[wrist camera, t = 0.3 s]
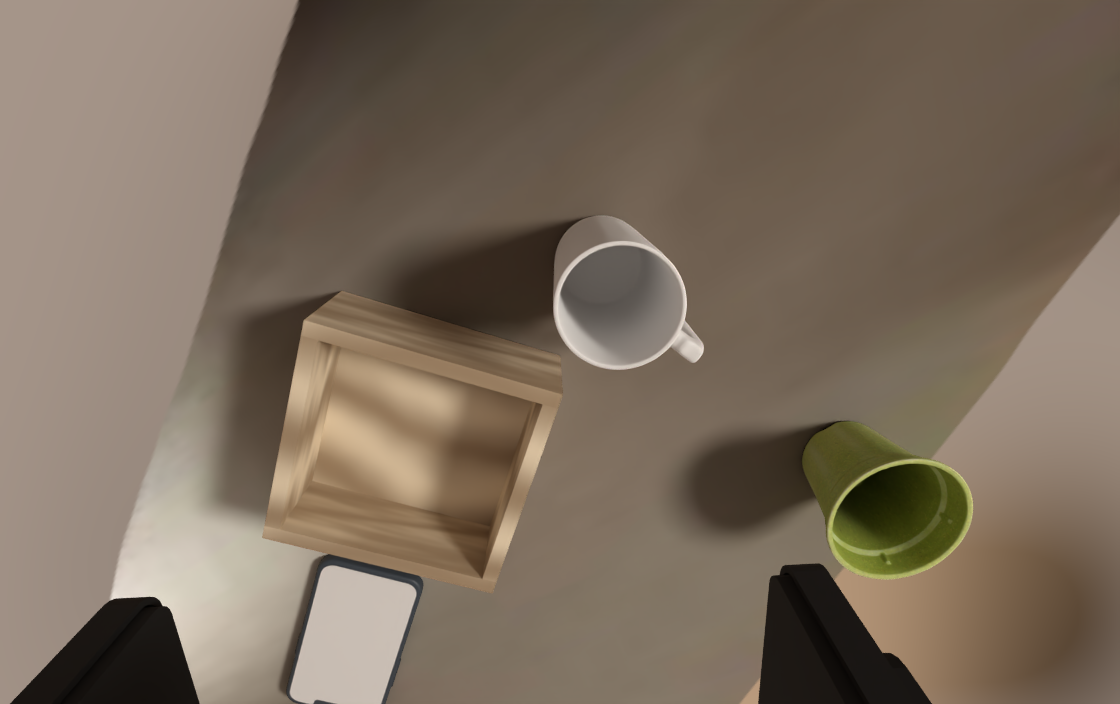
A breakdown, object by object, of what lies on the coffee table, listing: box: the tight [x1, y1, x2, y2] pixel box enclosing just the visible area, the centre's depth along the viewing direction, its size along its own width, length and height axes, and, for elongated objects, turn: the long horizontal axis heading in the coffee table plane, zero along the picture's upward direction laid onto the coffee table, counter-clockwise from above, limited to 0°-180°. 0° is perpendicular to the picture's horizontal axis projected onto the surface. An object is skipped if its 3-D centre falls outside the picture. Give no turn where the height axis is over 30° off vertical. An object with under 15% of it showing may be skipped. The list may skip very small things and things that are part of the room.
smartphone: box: [286, 554, 423, 704], centre depth 52 cm, size 9×2×16 cm
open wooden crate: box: [262, 291, 563, 593], centre depth 42 cm, size 16×16×7 cm
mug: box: [553, 215, 704, 370], centre depth 36 cm, size 10×7×12 cm, turn 55°
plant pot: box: [802, 421, 973, 579], centre depth 43 cm, size 9×9×9 cm
